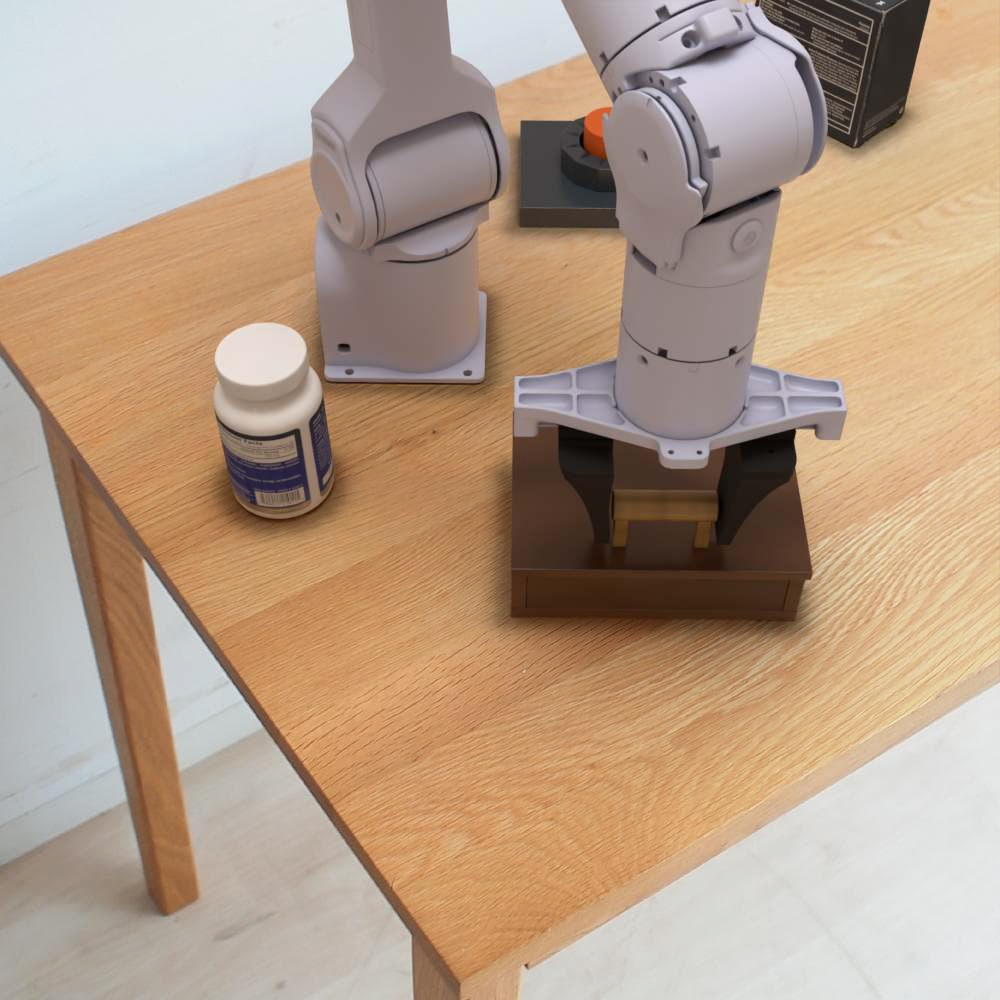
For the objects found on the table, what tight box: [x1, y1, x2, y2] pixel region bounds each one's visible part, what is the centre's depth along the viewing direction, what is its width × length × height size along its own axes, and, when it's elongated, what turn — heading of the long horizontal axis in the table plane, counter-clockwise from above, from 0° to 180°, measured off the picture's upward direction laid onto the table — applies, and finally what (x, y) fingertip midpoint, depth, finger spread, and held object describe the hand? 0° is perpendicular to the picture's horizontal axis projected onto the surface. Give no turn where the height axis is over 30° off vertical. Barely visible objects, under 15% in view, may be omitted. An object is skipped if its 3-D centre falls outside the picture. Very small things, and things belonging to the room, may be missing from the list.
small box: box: [754, 0, 932, 148], centre depth 101 cm, size 11×6×10 cm, turn 44°
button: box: [583, 106, 612, 159], centre depth 96 cm, size 4×4×2 cm
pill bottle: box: [212, 322, 335, 520], centre depth 77 cm, size 6×6×10 cm
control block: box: [518, 115, 619, 229], centre depth 97 cm, size 12×10×4 cm
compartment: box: [510, 575, 806, 621], centre depth 76 cm, size 10×15×4 cm
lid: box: [510, 410, 814, 581], centre depth 72 cm, size 11×15×4 cm
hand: (661, 528), depth 70 cm, fingers open, 5 cm apart
